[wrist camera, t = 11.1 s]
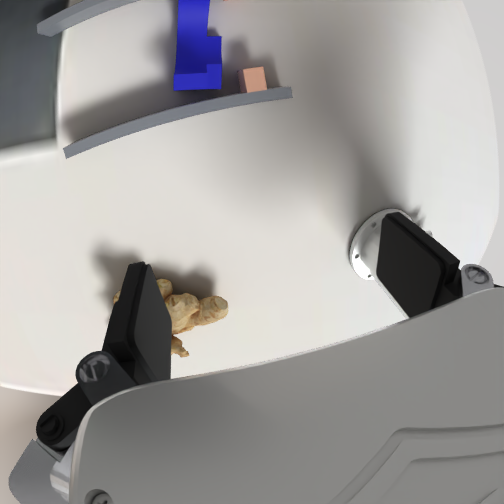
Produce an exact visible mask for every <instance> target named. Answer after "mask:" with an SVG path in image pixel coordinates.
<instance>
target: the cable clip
mask: <svg viewBox="0 0 504 504" xmlns="http://www.w3.org/2000/svg"><path fill="white" fill-rule="evenodd" d="M209 4H210V0H178V30H177V51H176V66H175V73H174V91H180V90H201V89H221V79H222V58H221V38H222V36H207V25H208V13H209Z"/></svg>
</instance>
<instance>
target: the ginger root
mask: <svg viewBox="0 0 504 504" xmlns="http://www.w3.org/2000/svg"><path fill="white" fill-rule="evenodd" d="M156 281H157V284H158V286H159V289H160V292H161V294H162V297H163V299H164V302H165V304H166V306H167V309H168V311H169V314H170V316H171V320H172V339H171V355H172V354H173V353H175V354H178V355H180V357H187V356H189V353H188V351H186V350H185V349H184V348H183V347H182V341H181V340H180V339H178V338H177V337H175V336H173V335H174V334H178V333H182V332H185V331H189V330H192V329H193V327H194V326H198V325H207V324H210V323H213V322H216V321H218V320H220V319H222V318H224V317H226V315H227V313H228V303H227V301H226V300H224V299H223V298H222V297H219V296H210V297H206V298H203V299H201V300H198V299H197V298H196V297H195V296H194V295H191V294H189V293H184V294H182V295H172V292H173V290H172V283H171V282H170V281H169V280H166V279H163V278H162V279H159V280H156ZM120 292H121V290H120V291H119V292H117V293H116V294H115V296H114V298H113V302H114V304H115V302H116V301H118V299H119V295H120Z"/></svg>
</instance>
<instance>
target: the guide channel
mask: <svg viewBox="0 0 504 504" xmlns="http://www.w3.org/2000/svg"><path fill="white" fill-rule="evenodd" d="M136 1H139V0H84V1H82V2H79V3H77V4H75V5H73V6H71V7H69V8H67V9H65V10H63V11H61V12H59V13H57V14H55V15H53V16H51V17H49V18H47V19H46V20H44V21H42V22H40V23H39V24H37V31H38V33H39V34H43V35H46V36H50V37H52V36H54V35H55V34H57V33H59V32H61V31H63V30H65V29H67V28H69V27H72V26H74V25H76V24H78V23H80V22H82V21H85V20H87V19H89V18H92V17H94V16H96V15H99V14H101V13H104V12H107V11H109V10H112V9H115V8H118V7H120V6H123V5H126V4H129V3H132V2H136ZM223 1H225V0H223ZM237 73H238V78H239V83H240V89H241V93H236V94H230V95H225V96H220V97H215V98H211V99H206V100H202V101H197V102H193V103H189V104H185V105H181V106H177V107H174V108H170V109H166V110H163V111H159V112H156V113H153V114H149V115H146V116H143V117H140V118H137V119H134V120H131V121H128V122H125V123H122V124H119V125H116V126H114V127H111V128H108V129H105V130H103V131H100V132H98V133H95V134H93V135H90V136H88V137H85V138H83V139H80V140H78V141H76V142H74V143H72V144H70V145H68V146H66V147H65V148H63V150H64V153H65V156H66V159H67V158H69V157H72V156H74V155H76V154H79V153H81V152H84V151H86V150H88V149H91V148H93V147H96V146H99V145H101V144H104V143H107V142H109V141H112V140H115V139H118V138H120V137H123V136H126V135H129V134H132V133H135V132H138V131H141V130H145V129H148V128H151V127H154V126H158V125H161V124H165V123H168V122H172V121H175V120H179V119H183V118H187V117H191V116H195V115H199V114H203V113H208V112H212V111H217V110H221V109H226V108H231V107H236V106H242V105H247V104H253V103H259V102H265V101H272V100H279V99H287V98H293V97H292V90H291V87H274V88H267V86H266V80H265V74H264V69H263V67H255V68H248V69H242V70H240V71H237Z"/></svg>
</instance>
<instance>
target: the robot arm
mask: <svg viewBox="0 0 504 504" xmlns="http://www.w3.org/2000/svg"><path fill="white" fill-rule="evenodd" d="M350 263H351V266H352V268H353V269H354V271H355V272H356V273H357V274H358V275H359V276H360V277H362V278H364V279H367V280H375V281H376V282H377V283H378V284H379V286H380V287H381V288H382V289H383V291H384V292H385V293H386V294H387V295H388V297H389V298H390V299H391V300H392V302H393V303H394V304H395V305H396V307H397V308H398V309H399V311H400V312H401V313H402V314H403V316H404V317H405V318H406V320H403V321H401V322H398V323H395V324H392V325H389V326H386V327H384V328H381V329H378V330H375V331H372V332H369V333H366V334H363V335H360V336H356V337H353V338H350V339H347V340H343V341H340V342H337V343H333V344H330V345H326V346H323V347H319V348H316V349H312V350H308V351H304V352H301V353H297V354H293V355H289V356H285V357H281V358H277V359H272V360H268V361H264V362H259V363H255V364H250V365H245V366H240V367H235V368H230V369H225V370H220V371H215V372H209V373H204V374H198V375H192V376H186V377H180V378H174V379H171V339H172V320H171V316H170V314H169V311H168V309H167V306H166V304H165V302H164V299H163V297H162V294H161V292H160V289H159V286H158V284H157V281H156V279H155V276H154V273H153V271H152V268H151V266H150V264H147V265H146V264H145V262H138V263H133V264H129V266H128V269H127V272H126V276H125V279H124V282H123V285H122V289H121V292H120V295H119V299H118V301H116V302H115V304H114V306H113V310H112V313H111V317H110V321H109V324H108V328H107V332H106V336H105V340H104V344H103V348H102V351H96V352H92V353H90V354H88V355H87V356H85V357H84V358H83V359H82V360H81V361H80V363H79V364H78V366H77V369H76V379H77V381H78V383H77V384H76V385H75V386H74V387H73V388H72V389H70V390H69V391H68V392H67V393H66V394H65V395H63V396H62V397H61V398H60V399H59V400H58V401H57V402H55V403H54V404H53V405H52V406H51V407H50V408H48V409H47V410H46V411H45V412H44V413H43V414H42V415H41V416H40V418H39V420H38V422H37V426H36V433H37V436H38V438H37V439H36V441H35V440H33V439H32V440H31V442H30V443H29V445H28V446H27V448H26V449H25V451H24V452H23V454H22V456H21V457H20V459H19V460H18V462H17V464H16V466H15V467H14V469H13V470H12V472H11V474H10V476H9V488H10V490H11V492H12V494H13V495H14V497H16V499H17V500H18V501H19V502H20V503H21V504H504V287H502V286H499V285H495V284H494V283H493V279H492V276H491V274H490V273H489V272H488V271H487V270H486V269H485V268H483V267H481V266H479V265H476V264H466V265H464V266H463V267H462V269H461V270H460V269H459V268H458V267H459V263H460V260H458V259H457V258H456V257H455V256H454V255H453V254H452V253H450V252H449V251H448V250H447V249H446V248H445V247H443V246H442V245H441V244H440V243H439V242H437V241H436V240H435V239H434V238H432V232H431V231H426V232H425V231H424V230H422V229H421V228H420V227H419V226H417V225H416V224H415V223H413V220H412V219H411V218H410V216H409V215H407V214H406V213H405V212H403V211H401V210H398V209H386V210H382V211H380V212H378V213H376V214H374V215H373V216H371V217H370V218H369V219H368V220H367V221H366V222H364V224H363V225H362V226H361V227H360V228H359V230H358V232H357V233H356V235H355V237H354V239H353V241H352V244H351V248H350Z"/></svg>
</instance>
